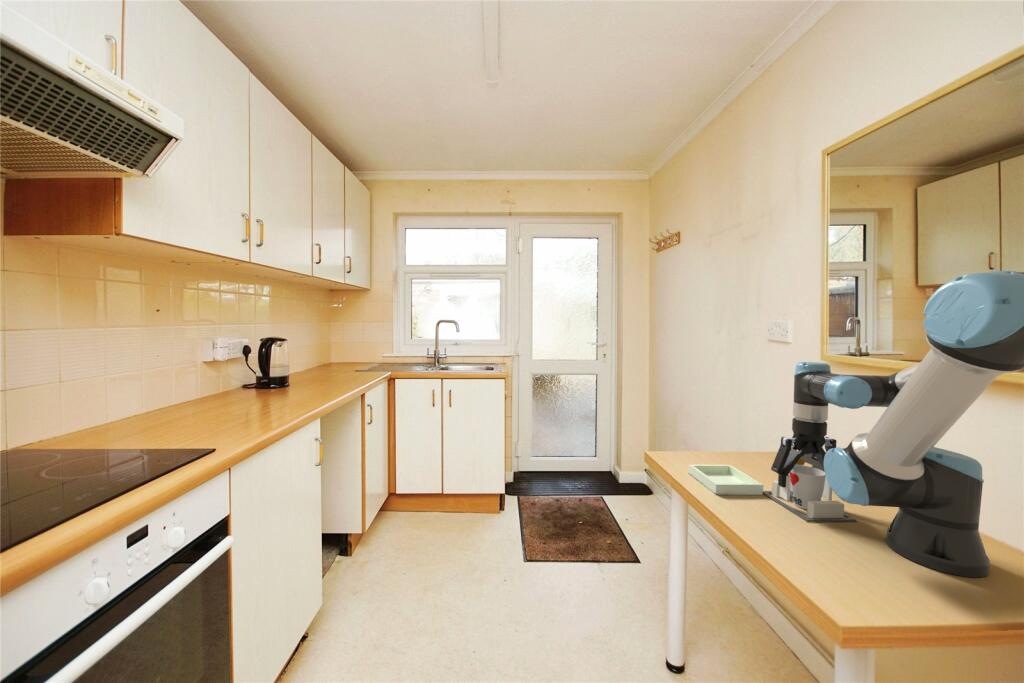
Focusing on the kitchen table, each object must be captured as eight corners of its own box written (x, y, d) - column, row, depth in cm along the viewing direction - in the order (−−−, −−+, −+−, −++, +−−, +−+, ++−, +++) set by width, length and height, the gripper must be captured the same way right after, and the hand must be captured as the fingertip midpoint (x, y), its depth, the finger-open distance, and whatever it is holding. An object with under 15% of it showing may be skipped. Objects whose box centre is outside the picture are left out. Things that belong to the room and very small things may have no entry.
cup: (784, 497, 112) (786, 462, 112) (819, 503, 109) (821, 467, 108) (790, 508, 105) (792, 472, 104) (827, 515, 101) (829, 478, 101)
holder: (856, 521, 99) (857, 506, 98) (806, 521, 98) (807, 506, 98) (803, 492, 116) (804, 479, 115) (760, 492, 115) (761, 479, 115)
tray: (762, 494, 113) (763, 484, 113) (715, 494, 113) (716, 484, 113) (729, 473, 129) (730, 464, 129) (688, 473, 129) (688, 464, 129)
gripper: (839, 416, 110) (834, 492, 111) (758, 415, 109) (754, 492, 110) (864, 423, 102) (859, 504, 103) (777, 422, 101) (773, 504, 102)
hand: (805, 498), depth 107 cm, fingers open, 11 cm apart
